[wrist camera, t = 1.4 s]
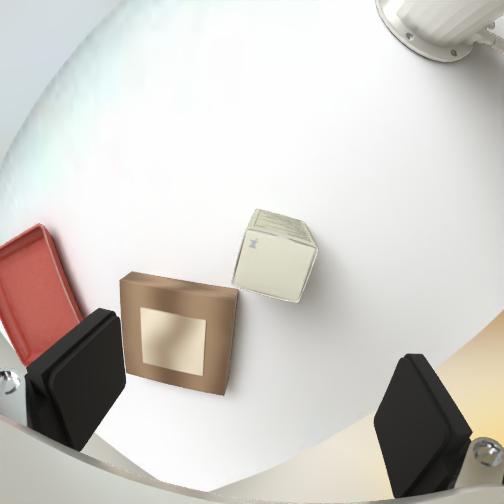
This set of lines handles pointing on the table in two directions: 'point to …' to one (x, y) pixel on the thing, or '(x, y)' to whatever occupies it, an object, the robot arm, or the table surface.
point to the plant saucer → (35, 294)
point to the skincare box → (275, 257)
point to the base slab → (178, 331)
